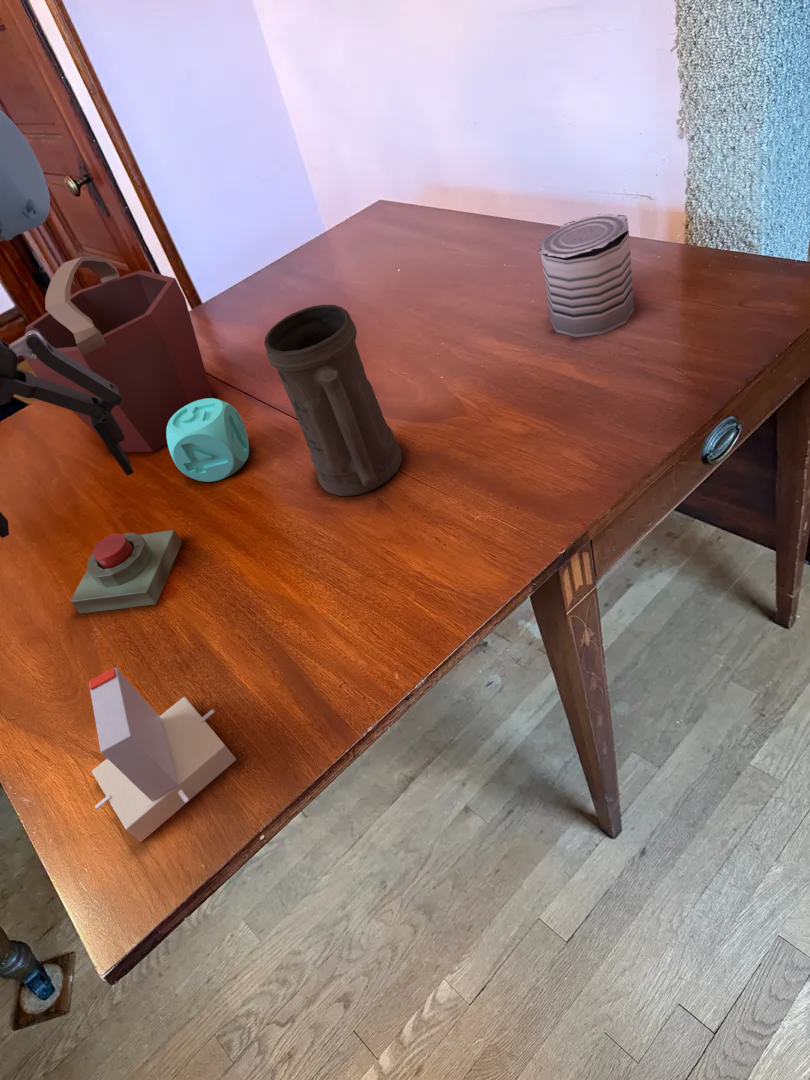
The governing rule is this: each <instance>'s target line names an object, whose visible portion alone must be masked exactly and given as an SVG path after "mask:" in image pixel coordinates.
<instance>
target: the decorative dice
mask: <svg viewBox="0 0 810 1080" xmlns="http://www.w3.org/2000/svg"><path fill="white" fill-rule="evenodd" d="M166 436H167V444H166V445H167V448H168V451H169V454H170V456H171V459H172V461H173V463H174V465H175V466H176V468H177V469H178V470H179V471H180V472H181V473H182V474H183V475H185V476H186V477H189V479H193V480H196V481H199V482H206V483H212V482H219V481H222V480H224V479H226V478H228V477H231V476H232V475H234V474H236V473H237V472H239V471H240V469H241V468H243V466H244V465H245V464H246V462H247V460H248V459H249V454H250V445H249V443H250V442H249V437H248V433H247V429H246V426H245V423H244V421H243V419H242V416H241V415H240V413H239V411H238V410H237V409H236V408H235V406H233V405H232V404H231V403H228V402H226V401H224V400H221V399H219V398H214V397H213V398H206V399H201V400H197V401H195V402H192V403H190V404H188V405H186V406H184V407H183V408H181V409H180V410H178V411H177V412H176V413H175V414H174V415H173V416H172V417H171V419H170V420H169V422H168V425H167V430H166Z"/></svg>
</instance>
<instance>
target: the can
mask: <svg viewBox="0 0 810 1080" xmlns="http://www.w3.org/2000/svg"><path fill="white" fill-rule="evenodd" d="M629 230H630V229H629V221H628V216H627V215H625V214H624V215H623V214H612V213H611V214H609V213H597V214H593V215H591V216H586V217H583V218H580V219H576V220H573V221H569V222H565V223H563V224H562V225H560V226H559V227H558V228H556V229H555V230H553V231H552V232H550V233H549V234H548V235H545V236H544V237H543V238H541V239H540V243H539V255H540V258H541V264H542V270H543V271H542V272H543V278H544V285H545V293H546V298H547V305H548V310H549V311H548V312H549V318H550V323H551V324H552V326H553V328H554V330H555V332H556V333H559V334H562V335H565V336H568V337H573V338H585V337H594V336H601V335H605V334H607V333H609V332H611V331H613V330H615V329H617V328H619V327H622V326H623V325H626V324H627V322H628V320H629V319H630V317H631V316H632V314H633V313H634V311H635V305H634V288H633V273H632V258H631V241H630V231H629Z"/></svg>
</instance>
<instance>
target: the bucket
mask: <svg viewBox="0 0 810 1080" xmlns="http://www.w3.org/2000/svg"><path fill="white" fill-rule="evenodd" d="M78 268H82V269H89V270H90V271H92V272H93V273H95V275H97V276H98V277H99V278H100V281H101V283H97V284H94V285H91V286H88V287H85V288H82V289H79V290H77V291H76V292H74V293H72V294H71V290H72V289H71V288H72V284H73V280H74V276H75V273H76V272H77V270H78ZM44 300H45V301H44V302H45V304H44V305H45V310H46V311H47V312H45V313H44V314H42V315H41V316H40V317H38V318H37V319H35V320H34V321H32V322H30V323H29V324H28V325H26V326H25V330H26V329H28V328H30V327H33V328H36V329H37V330H38V331H39V332H40V333H41V334H42V336H43V337H44V338H45V339H46V340H47V342H48V343H49V344H50V345H51V346H53V347H54V348H56V349H57V350H59V351H61V352H62V353H64V354H66V355H67V356H69V357H70V358H72V359H74V360H75V361H77V362H78V363H80V364H82V365H83V366H85V367H86V368H88V369H90V370H91V371H93V372H95V373H96V374H98V375H99V376H101V377H103V378H104V379H106V380H107V381H109V382H111V383H112V384H114V385H115V386H117V388H118V390H119V393H120V396H121V399H122V401H121V403H120V404H119V405H117V406H115V407H114V408H113V409H112V410H111V413H112V415H113V416H114V418H115V419H116V421H117V422H118V424H119V425H120V427H121V429H122V431H123V434H124V439H125V440H124V441H122V442H120V443H118V444H119V445H120V447H121V448H122V450H123V451H124V453H145V452H146V453H147V452H149V453H153V452H155V451H158V450H159V449H161V448H163V447H164V446H166V445H168V444H167V436H166V430H167V425H168V422H169V420H170V419H171V417H172V416H173V415H174V414H175V413H176V412H177V411H178V410H180V409H181V408H183V407H184V406H186V405H188V404H190V403H192V402H195V401H197V400H201V399H206V398H214V397H213V394H212V390H211V386H210V381H209V379H208V375H207V372H206V368H205V365H204V361H203V358H202V354H201V350H200V347H199V342H198V340H197V335H196V332H195V329H194V325H193V322H192V318H191V314H190V311H189V307H188V303H187V301H186V297H185V295H184V293H183V291H182V288H181V287H180V285H179V283H178V281H177V278H175V277H172V276H168V275H164V274H160V273H156V272H152V271H147V270H143V269H140V270H137V271H133V272H131V273H128V274H125V275H122V276H120V273H119V270H118V269H117V267H116V266H115V265H114V264H113V263H112V262H111V261H109V260H108V259H107V258H106V257H102V256H101V257H100V256H95V255H83V256H79V257H77V258H74V259H71V260H68V261H64V262H63V263H62V264H61V265H60V266H59V267H58V268H57V270H56V272H55V273H54V274H53V275H52V277H51V278H50V282H49V284H48V287H47V290H46V294H45V299H44ZM22 357H23V359H24V361H25V362H26V363H27V365H28V366H29V367H30V369H31V370H32V372H33V374H34V375H35V376H36V377H39V378H42V379H45V380H48V381H51V382H54V383H57V384H60V385H63V386H66V387H69V388H72V389H75V390H78V391H81V392H83V393H86V394H89V395H92V396H95V397H98V396H96V395H94V394H93V393H91V392H89V391H88V390H86V389H84V388H83V387H81V386H79V385H78V384H76V383H74V382H73V381H71V380H69V379H68V378H66V377H64V376H63V375H61V374H59V373H58V372H56V371H54V370H53V369H51V368H49V367H48V366H46V365H45V364H44V363H43V362H41V361H40V360H39V359H37V360H31V359H29V358H28V357H26V356H22ZM72 412H73V413H74V414H75V415H76V416H77V417H78V418H79V419H80V420H81V421H82V422H83V423H84V424H85V425H86V426H87V427H88V428H89V429H90V430H92V432H94V433H95V434H96V436H98V437H99V439H101V440H102V438H101V437H100V435H99V434H98V433H97V431H96V430H95V428H94V427H93V424H92V420H91V417H90V416H88V415H85V414H82V413H79V412H76V411H72Z"/></svg>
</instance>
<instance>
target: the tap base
mask: <svg viewBox="0 0 810 1080" xmlns="http://www.w3.org/2000/svg"><path fill="white" fill-rule="evenodd" d="M213 714H215V710H214V709H211V710H209V711H208V712H207V713H206V714H204V715H203V716H202V715H201V714H200V713H199V711H198V710H197V709H196V708H195V707H194V706H193V705H192V703H191V702H190V701H189V700H188V698H187V697H186V696H183V697H182V698H180V699H179V700H177V702H175V703H174V704H173V705H171V707H169V708H168V709H166V710H165V711H164V712H163V713H162V714H160V715H159V717H160V718H161V720H162V724H163V728H164V732H165V735H166V739H167V743H168V747H169V751H170V755H171V759H172V762H173V766H174V770H175V774H176V778H177V782H178V786H177V787H176V788H174V789H172V790H170V791H169V792H167V793H165V794H163V795H162V796H160V797H158V798H156V799H155V800H153V801H151V800H150V799H149V798H148V797H147V796H146V795H145V794H144V793H143V792H142V791H140V790H139V789H138V788H137V787H136V786H135V785H134V784H133V783H132V782H131V781H130V780H129V779H128V778H127V777H126V776H125V775H124V774H123V773H122V772H121V771H120V770H119V769H118V768H117V767H116V766H115V765H114V764H112V763H111V762H110V761H109V760H108V759H107V758H106V759H104V760H103V761H102V762H100V764H98V765H97V766H96V767H94V768H93V769H92V770H91V773H92V775H93V777H94V779H95V781H96V782H97V783H98V785H99V787H100V789H101V790H102V793H103V794H104V795H105V797H104V798H102V800H100V801H99V802H98V803H96V804H95V805H94V808H95V810H98V809H100V808H101V807H103V805H104V804H106V803H107V802H109V804H110V805H111V807H112V809H113V811H114V812H115V814H116V816H117V817H118V819H119V821H120V822H121V824H122V826H123V827H124V830H126V832H128V833H129V834H130V835H131V836H132V837H134V838H135V839H136V840H137V841H138V842H139V843H142V842H143V841H145V839H147V838H148V837H149V836H151V834H153V832H154V831H156V830H157V829H159V828H160V826H161V825H163V824H164V823H165V822H167V820H169V819H170V818H171V817H172V816H173V815H174V814H176V813H177V812H178V811H179V810H180V809H181V808H183V807H184V806H185V805H186V804H187V803H189V802H190V801H191V799H193V798H194V797H195V796H196V795H198V794H199V793H200V792H201V791H202V790H203V789H204V788H206V787H207V786H208V785H209V784H210V783H211V782H212V781H214V780H215V779H217V777H219V775H221V774H222V773H223V772H224V771H226V769H228V768H229V767H230V766H232V764H234V763H235V762H236V761H237V758H236V756H235V755H234V754H233V753H232V752H231V751H230V750H229V748H228V747H227V745H225V743H224V742H223V741H222V739H220V737H219V736H218V735H217V734H216V732H215V731H214V730H213V728H212V727H211V726H210V725H209V724H208V723H207V721H206V720H207V719H208V718H210V717H211V716H213Z"/></svg>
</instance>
